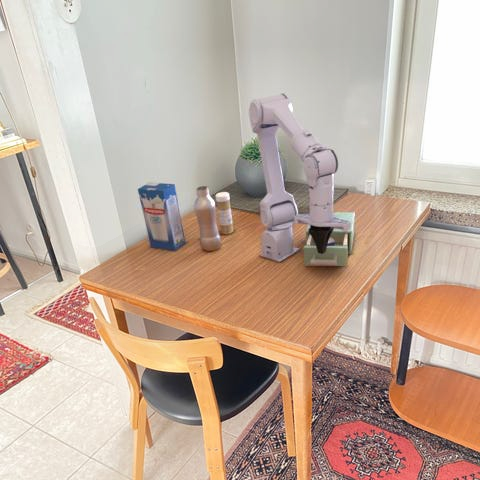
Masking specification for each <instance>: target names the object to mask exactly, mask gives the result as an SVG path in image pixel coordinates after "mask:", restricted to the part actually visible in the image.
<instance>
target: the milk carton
mask: <svg viewBox="0 0 480 480" xmlns="http://www.w3.org/2000/svg"><path fill="white" fill-rule="evenodd" d="M137 192H138V197H139V201H140V205H141V210H142V214H143V215H142V216H143V220H144V223H145V227H146V232H147V237H148V240H149V244H150V245H149V246H150V248H152V249H153V248H154V249H160V250H167V251H174V252H176V251H177V250H178V249H180V248H181V247H182V246H184V244H186V237H185V233H184V227H183V223H182V217H181V216H182V215H181V212H180V206H179V201H178V195H177V190H176V184H175V183H164V182H148V183H146V184H144V185H142V186H140V187H139V188H137Z"/></svg>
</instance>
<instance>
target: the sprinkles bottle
mask: <svg viewBox="0 0 480 480" xmlns="http://www.w3.org/2000/svg"><path fill="white" fill-rule="evenodd" d="M214 196H215V201H216V206H217V217H218V222H219V227H220V233H221V234H222V235H230V234H232V233H234V226H233V225H234V224H233V216H232V208H231V201H230V200H231V199H230V192H227V191H221V192H218V193H216V194H215V195H214Z"/></svg>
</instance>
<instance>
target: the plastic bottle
mask: <svg viewBox="0 0 480 480" xmlns="http://www.w3.org/2000/svg"><path fill="white" fill-rule="evenodd" d="M209 189H210V188H209V187H208V185H202V186H198V187H196V188H195V190H196V194H195V195H196V196H197V197H196V199H195V200H194V203H193V209H194V212H195V215H196V218H197V222H198V226H199V244H200V246H201V248H202V250H204V251H207V252H211V251H216V250H218V249H219V248H220V247H221V246H222V245H221V244H222V240H221V235H220V233H219V229H218V226H217V217H216V216H217V215H216V202H215V200H214V198H213V197H212V196H211V195H210V190H209Z"/></svg>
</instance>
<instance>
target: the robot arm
mask: <svg viewBox="0 0 480 480" xmlns="http://www.w3.org/2000/svg"><path fill="white" fill-rule="evenodd" d="M248 117H249V121H250V122H249V123H250V128H251V131H252V133H253V134H255V135H256V137H257V142H258V148H259V153H260V159H261V164H262V170H263V176H264V181H265V182H264V183H265V188H266V194H265V196H264V197H263V198H262V199H261V200H260V202H259V207H260V209H259V210H260V212H259V216H260V221H261V223H262V225H263V227H265V228H266V229H265V230H264V232H263V233H262V234H261V236H260V245H261V253H260V257H262V258H265V259H268V260H272V261H275V262H278V263H281V262H283V261H284V260H286V259H288V258H289V257H291V256H293V255H294V254H296V253H298V252H299V251H300V248H298V247H295V246H294V239H293V225H295V224H296V225H299V224H303V225H308V224H309V225H311V227H310V228H309V230H308V231H309V233H310V235H311V236H312V238H313V240H314V242H315V245H316V248H317V251H318V253H319V254H323V253H324V252H326V248H327V244H328V241H329V238H330V236H331V233H332V231H333V230H334V228H335V229H341V230H343V231H346V232H347V231H348V230H349V229H350V221H346V220H343V219H340V218H337V217H334V216H333V212H334V174H336V173H337V171H338V168H339V157H338V155H337V153H336V152H335V150H334V149H333V148H330V147H328V146H323V145H322V144H321V142H320V141H319V140H318V138H317V137H316V136H315V134H313V132H312V131H311V130H310V129H304V128H303V127H302V125H301V123H300V121H298V119H297V117H296V116H295V114H294V113H293V104H292V101H291V99H290V97H289V96H288V94H286V93H285V92H283V93H280V94H276V95H270V96H266V97H261V98H253V99H252V100H251V101H250V104H249V107H248ZM279 128H280V129H281V130H282V131H283V133H285V134H286V136H288V137H289V138H290V140H291V143H290V146H291V148H292V150H293V151H294V153H296V155H297V156H298V157H299V159H300V160H301V162H302V163H303V164H302V166H303V167H302V168H303V172H304V174H305V178H306V179H305V180H306V184H307V185H308V196H309V198H308V199H309V213H299V210H298V206H297V205H296V201H295V198H294V195H293V194H292V193H289V192H287V191H286V190H285V184H284V183H285V182H284V178H283V171H282V164H281V159H280V153H279V147H278V140H277V132H278V130H279ZM283 201H284V202H283ZM279 202H281V203H279ZM276 203H277V204H276Z"/></svg>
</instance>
